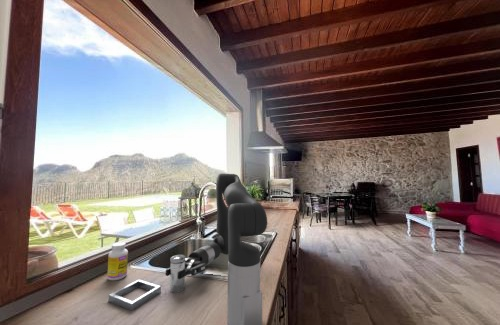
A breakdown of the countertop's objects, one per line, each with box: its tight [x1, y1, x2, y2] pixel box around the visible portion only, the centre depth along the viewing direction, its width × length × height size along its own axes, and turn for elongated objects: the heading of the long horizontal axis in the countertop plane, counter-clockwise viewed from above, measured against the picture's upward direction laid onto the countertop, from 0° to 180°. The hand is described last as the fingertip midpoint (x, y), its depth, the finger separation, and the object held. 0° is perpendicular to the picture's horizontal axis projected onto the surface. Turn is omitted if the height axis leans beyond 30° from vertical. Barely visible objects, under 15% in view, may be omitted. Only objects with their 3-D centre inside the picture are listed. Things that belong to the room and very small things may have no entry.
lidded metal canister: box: [169, 254, 186, 293], centre depth 76 cm, size 5×5×11 cm
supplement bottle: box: [106, 241, 129, 281], centre depth 84 cm, size 7×7×13 cm
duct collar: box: [108, 279, 162, 311], centre depth 71 cm, size 11×11×2 cm
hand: (172, 274), depth 74 cm, fingers closed on lidded metal canister, 5 cm apart
